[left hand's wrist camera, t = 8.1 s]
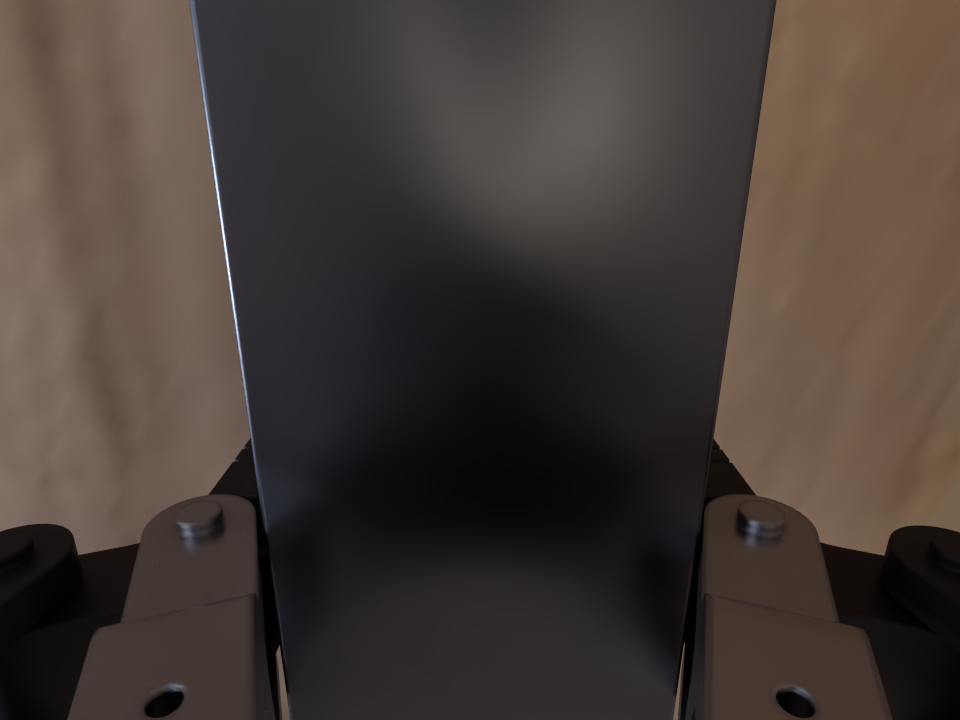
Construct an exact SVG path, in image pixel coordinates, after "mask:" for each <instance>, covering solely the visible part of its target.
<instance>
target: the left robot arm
mask: <svg viewBox="0 0 960 720" xmlns="http://www.w3.org/2000/svg"><path fill="white" fill-rule="evenodd" d="M684 643H685V649H684V655H683V662H682V669H681V683H680V698H679V712H678V720H960V533H959V532H956V531H952V530H948V529H944V528H939V527H932V526H906V527H903V528H899V529H897V530H895V531H894V532H893V533H892V534H891V535H890V538H889V541H888V545H887V548H886V552H885V556H883V555H878V554H872V553H867V552H862V551H857V550H852V549H846V548H841V547H836V546H832V545H828V544H824V543H821V542H820V540H819V536H818V533H817V530H816V528H815V527H814V525H813V524H812V522H811V521H810V520H809V519H808V518H807V517H805V516H804V515H803V514H801V513H800V512H798V511H797V510H795V509H793V508H791V507H789V506H787V505H785V504H783V503H780V502H778V501H775V500H772V499H768V498H765V497H760V496H756V495H755V493H754V492H753V491H752V489H751V488H750V487H749V485H748V484H747V483H746V481H745V480H744V479H743V477H742V476H741V475H740V473H739V472H738V471H737V469H736V468H735V467H734V465H733V464H732V463H729V459H728V457H727V456H726V455H725V453H724V452H723V451H722V450H720V447H719V445H718V444H717V443H716V441H715V440H714V439H713V444H712V451H711V458H710V465H709V472H708V479H707V486H706V493H705V500H704V507H703V513H702V520H701V527H700V534H699V541H698V548H697V555H696V562H695V569H694V576H693V583H692V590H691V597H690V604H689V611H688V618H687V625H686V632H685V639H684ZM279 645H280V642H279V635H278V628H277V621H276V614H275V607H274V599H273V592H272V585H271V578H270V571H269V564H268V557H267V550H266V543H265V536H264V528H263V521H262V514H261V507H260V500H259V493H258V486H257V479H256V472H255V465H254V457H253V450H252V443H251V438H250V440H249V441H248V442H247V444H246V445H245V449H242V450H241V452H240V453H239V454H238V456H237V457H236V458H235V462H233V463H232V464H231V465H230V467H229V468H228V469H227V471H226V472H225V473H224V475H223V476H222V477H221V479H220V480H219V481H218V483H217V484H216V485H215V487H214V488H213V489H212V491H211V492H210V494H209V495H206V496H200V497H195V498H192V499H188V500H185V501H182V502H180V503H177V504H175V505H173V506H171V507H169V508H167V509H165V510H163V511H162V512H160V513H159V514H157V515H156V516H155V517H154V518H153V519H152V520H151V521H150V522H149V523H148V524H147V525H146V527H145V528H144V531H143V533H142V537H141V541H140V543H138V544H133V545H129V546H124V547H119V548H114V549H108V550H103V551H98V552H93V553H87V554H82V555H78V552H77V548H76V545H75V541H74V537H73V535H72V533H71V532H70V531H69V530H68V529H67V528H65V527H62V526H59V525H53V524H34V525H26V526H20V527H16V528H12V529H8V530H4V531H1V532H0V720H282V711H281V697H280V682H279V669H278V662H277V655H276V652H277V650H278V647H279Z"/></svg>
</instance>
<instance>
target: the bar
mask: <svg viewBox="0 0 960 720" xmlns="http://www.w3.org/2000/svg"><path fill="white" fill-rule="evenodd" d="M189 3H190V10H191V17H192V24H193V31H194V38H195V46H196V53H197V60H198V67H199V74H200V81H201V88H202V95H203V102H204V109H205V117H206V124H207V131H208V138H209V145H210V152H211V159H212V166H213V173H214V180H215V188H216V195H217V202H218V209H219V216H220V223H221V230H222V237H223V244H224V251H225V259H226V266H227V273H228V280H229V287H230V294H231V301H232V308H233V315H234V323H235V330H236V337H237V344H238V351H239V358H240V365H241V372H242V379H243V386H244V394H245V401H246V408H247V415H248V422H249V429H250V436H251V443H252V450H253V457H254V465H255V472H256V479H257V486H258V493H259V500H260V507H261V514H262V521H263V528H264V536H265V543H266V550H267V557H268V564H269V571H270V578H271V585H272V592H273V599H274V607H275V614H276V621H277V628H278V635H279V642H280V649H281V656H282V663H283V670H284V678H285V685H286V692H287V699H288V706H289V713H290V720H673V715H674V708H675V701H676V694H677V687H678V680H679V673H680V667H681V660H682V653H683V646H684V639H685V632H686V625H687V618H688V611H689V604H690V597H691V590H692V583H693V576H694V569H695V562H696V555H697V548H698V541H699V534H700V527H701V520H702V513H703V507H704V500H705V493H706V486H707V479H708V472H709V465H710V458H711V451H712V444H713V437H714V430H715V423H716V416H717V409H718V402H719V395H720V388H721V381H722V374H723V367H724V360H725V353H726V347H727V340H728V333H729V326H730V319H731V312H732V305H733V298H734V291H735V284H736V277H737V270H738V263H739V256H740V249H741V242H742V235H743V228H744V221H745V214H746V207H747V200H748V193H749V187H750V180H751V173H752V166H753V159H754V152H755V145H756V138H757V131H758V124H759V117H760V110H761V103H762V96H763V89H764V82H765V75H766V68H767V61H768V54H769V47H770V40H771V33H772V27H773V20H774V13H775V6H776V0H189Z"/></svg>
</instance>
